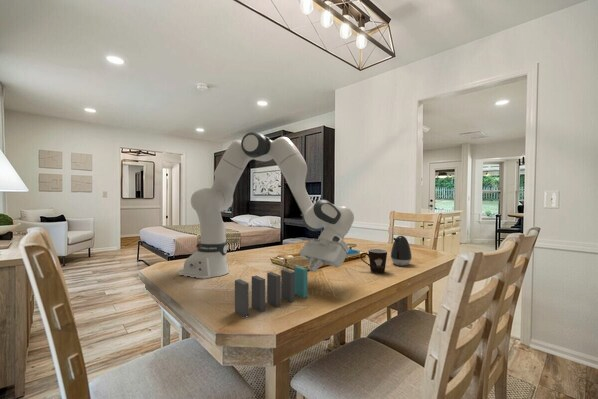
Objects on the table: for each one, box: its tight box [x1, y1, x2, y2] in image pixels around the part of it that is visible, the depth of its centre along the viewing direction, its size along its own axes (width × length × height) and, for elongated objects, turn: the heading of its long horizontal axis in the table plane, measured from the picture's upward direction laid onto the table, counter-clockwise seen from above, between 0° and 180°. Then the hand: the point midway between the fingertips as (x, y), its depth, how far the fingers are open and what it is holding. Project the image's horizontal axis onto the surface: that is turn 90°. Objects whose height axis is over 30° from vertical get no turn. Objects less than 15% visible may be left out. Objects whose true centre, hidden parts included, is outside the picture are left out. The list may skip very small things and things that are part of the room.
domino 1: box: [234, 278, 250, 318], centre depth 83 cm, size 2×5×10 cm, turn 41°
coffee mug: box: [359, 248, 388, 275], centre depth 130 cm, size 12×9×10 cm
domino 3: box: [266, 271, 282, 308], centre depth 91 cm, size 2×5×10 cm, turn 41°
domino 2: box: [251, 274, 266, 313], centre depth 87 cm, size 2×5×10 cm, turn 41°
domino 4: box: [280, 268, 295, 303], centre depth 95 cm, size 2×5×10 cm, turn 41°
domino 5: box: [293, 265, 308, 299], centre depth 99 cm, size 2×5×10 cm, turn 40°
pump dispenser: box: [390, 235, 413, 267], centre depth 142 cm, size 10×10×15 cm
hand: (311, 270), depth 102 cm, fingers closed
